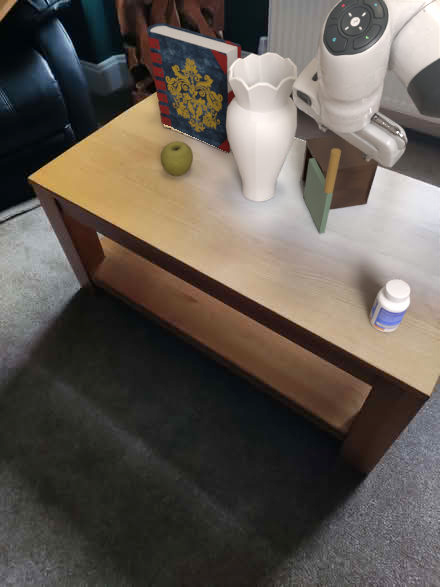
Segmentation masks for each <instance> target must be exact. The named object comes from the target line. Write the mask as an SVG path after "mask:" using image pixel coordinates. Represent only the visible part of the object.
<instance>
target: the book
mask: <svg viewBox="0 0 440 587" xmlns="http://www.w3.org/2000/svg"><path fill="white" fill-rule="evenodd" d="M146 32H147V33H146V38H147V44H148V47H149V49H148V50H149V51H148V52H149V57H150V61H151V68H152V73H153V75H154V76H153V80H154V86H155V88H156V89H155V92H156V97H157V100H158V101H157V104H158V110H159V116H160V121H161V123H162V125H163V124H165V125H168V126H171V127H173V128H174V129H177V130H179V131H181V132H183V133H186V134H188V135H190V136H192V137H195V138H197V139H199V140H201V141H204V142H206V143H208V144H210V145H213V146H215V147H217V148H219V149H221V150H223V151H222V152H224V151H226V152H225V153H227V152H228V153H227V154H230V153H231V147H230V144H229V141H228V137H227V130H226V118H227V108H228V106H229V104H230V103H231V101H232V100H233V98H234V97H235V94H234V92H233V90H232V87H231V85H230V83H229V74H228V72H227V71H228V70H229V68H230V67H231V65H232V64H233V62H234V61H236V60H237V59H238V58H241V59H242V47H241V44H240V43H236V42H234V41H233V42H232V41H230V40H227V39H221V38H218V37H215V36H211V35H207V34H204V33H200V32H196V31H193V30H190V29H186V28H183V27H178V26H176V25H172V24H169V23H167V22H161V23H160V22H159V23H154V24H151V25H149V26H148V27H147V28H146ZM210 145H209V146H210ZM215 147H214V148H215ZM217 148H216V149H217ZM219 149H218V150H219ZM221 150H220V151H221ZM229 152H230V153H229Z"/></svg>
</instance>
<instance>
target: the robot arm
mask: <svg viewBox="0 0 440 587" xmlns="http://www.w3.org/2000/svg"><path fill="white" fill-rule="evenodd" d="M391 71H392V72H393V74H395V75H396V77H397V79H398V80H399V81H400V82H401V83H402V85H403V86H404V88H405V89H406V92H407V94H408V95H409V96H408V97H410V99H411V101H412V102H413V104H414V106H415V107H416V109H417V111H418V112H419V114H420V115H421V116H424V117H428V118H435V119H440V0H339V1H338V2H337V3H336V4H335V5H334V6H333V7H332V8H331V10H330V11H329V12H328V14H327V16H326V18H325V20H324V22H323V24H322V27H321V30H320V34H319V37H318V42H317V52H316V55H315V57H314V58H313V59H312V60H311V61H310V62H309V63H308V64H307V65H306V66H305V67H304V69H303V70H302V71H301V72H300V73H299V75H297V79H296V81H295V82H294V84H293V85H292V100H293V102H294V104H295V105H296V107H297V109H299V110H300V111H302V112H304V113H305V114H306V115H308V116H309V117H311V118H312V119H313V120H314V121H315V122H316V124H317V125H318V129H319V130H320V131H322V132H324V133H327V132H328V131H329V130H330V131H331V132H333V133H334V134H335V135H339V136H340V137H342V138H343V139H345V140H346V141H347V142H349V143H350V144H352V145H353V146H355V147H356V148H358V149H359V150H361V151H362V152H363V153H362V155H361V157H362V158H363V159H364V160H366V161H367V162H369V161H370V159H374V160H375V161H377V162H378V164H380V165H381V166H383V167H384V168H393V166H394V165H395V164H397V162H398V161H399V160H400V159H401V157H402V156H403V155H404V153H405V150H406V147H407V144H408V137H407V134H406V131H405V129H404V128H403V127H402V126H401V125H399V124H398V123H396V121H394V120H392V119H391V118H389V117H388V116H387V115H384V114H383V113H382V112H380V111H379V110H380V108H381V107H380V106H381V101H382V96H383V91H384V87H385V86H384V85H385V77H386V75H387V74H389V72H391Z"/></svg>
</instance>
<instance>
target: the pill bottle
mask: <svg viewBox="0 0 440 587" xmlns="http://www.w3.org/2000/svg"><path fill="white" fill-rule="evenodd" d="M410 294H411V287H410V285H409V284H408V283H407V282H406V281H404V280H402V279H397V278H394V279H390V280H388V281H387V282H386V284H385V285H384V286H383V287H381V289H380V290H378V293H377V295H376V297H375V300H374V302H373V304H372V308H371V310H370V312H369V322H370V324H371V326H372V327H373V328H375V329H376V330H377V331H379V332H383V333H391V332H394V331H396V330H397V329H398V328H399V326H400V325H401V324H402V323H401V322H402V321H403V319H404V316H405V314H406V312H407V311H408V309H409V306H410V304H411V298H410V297H411V296H410Z"/></svg>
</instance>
